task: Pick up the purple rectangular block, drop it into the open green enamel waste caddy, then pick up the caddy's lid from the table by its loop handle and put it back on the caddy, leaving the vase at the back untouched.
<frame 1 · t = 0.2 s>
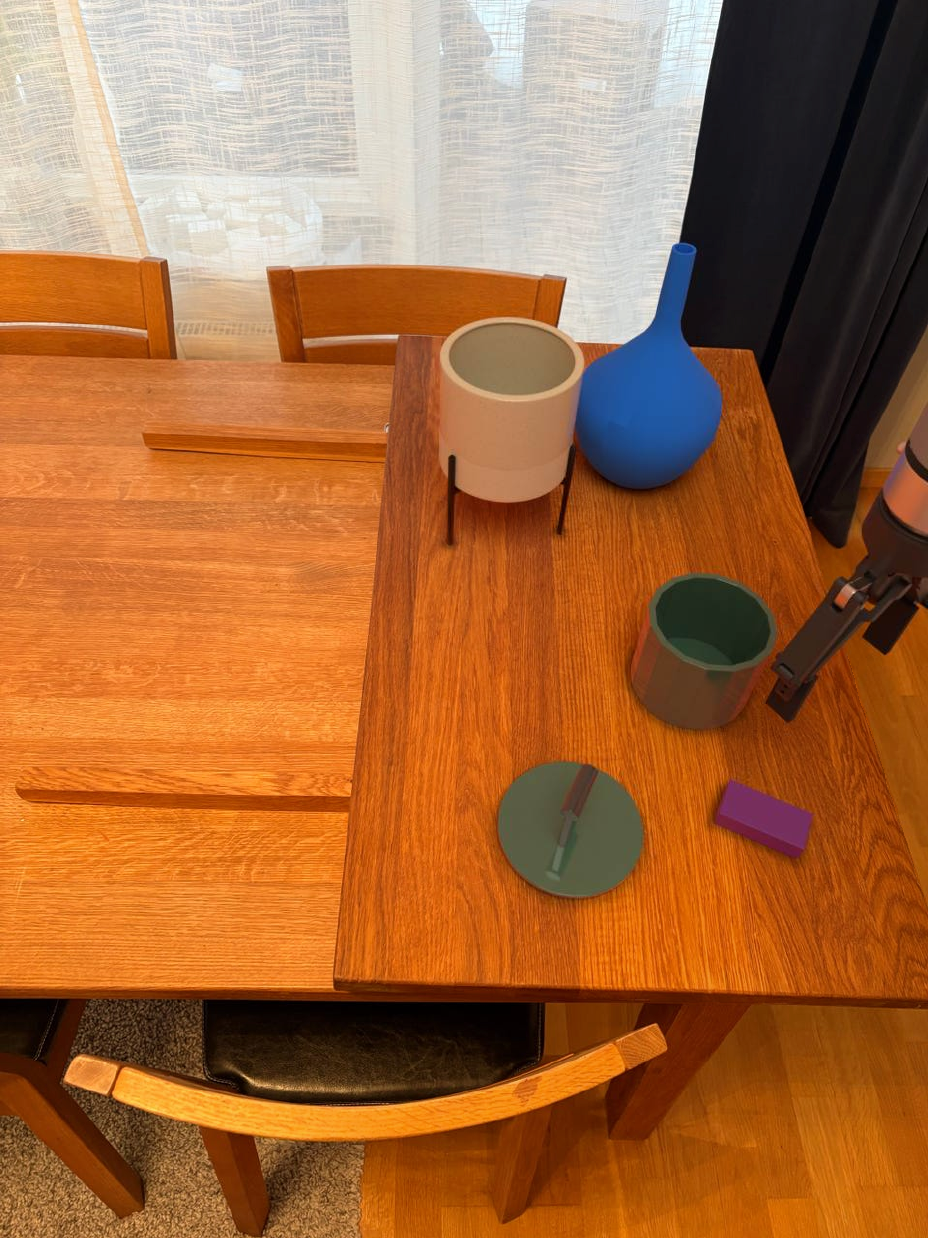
hand: (828, 677, 79), 11 cm above the table, tool pointing down, fingers open, 13 cm apart
purple rectangular block: (759, 823, 82), on the table
planter: (498, 514, 108), on the table
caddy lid: (569, 828, 80), point 1 cm above the table
vase: (633, 465, 115), on the table
caddy: (688, 681, 92), on the table
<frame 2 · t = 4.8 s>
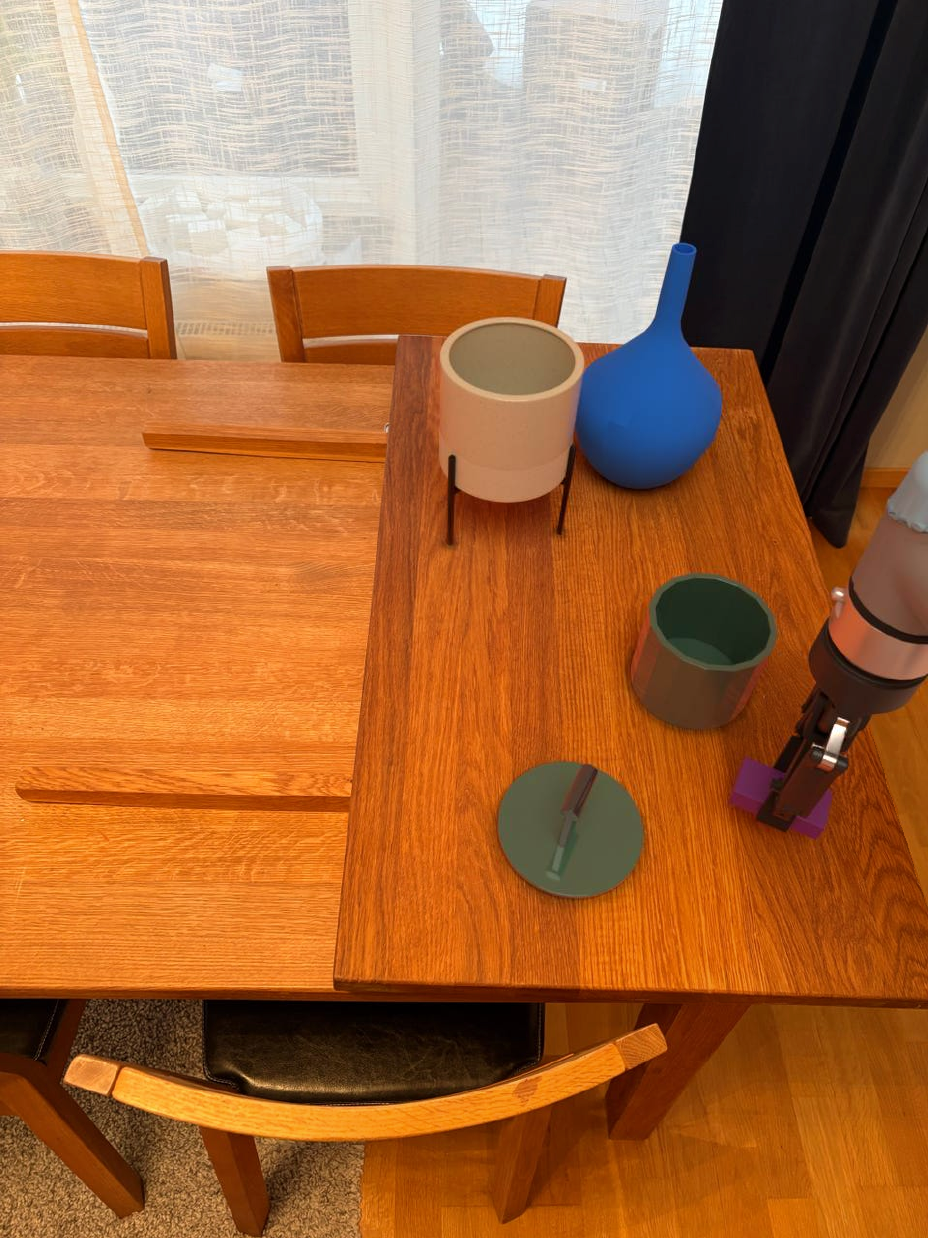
hand: (777, 801, 78), 5 cm above the table, tool pointing down, fingers closed on purple rectangular block, 4 cm apart
purple rectangular block: (776, 803, 78), point 5 cm above the table, touching gripper
everything else where it was.
when the fingers open (15 cm above the table, at t = 9.0 s): purple rectangular block drops 12 cm and tips over, resting on caddy.
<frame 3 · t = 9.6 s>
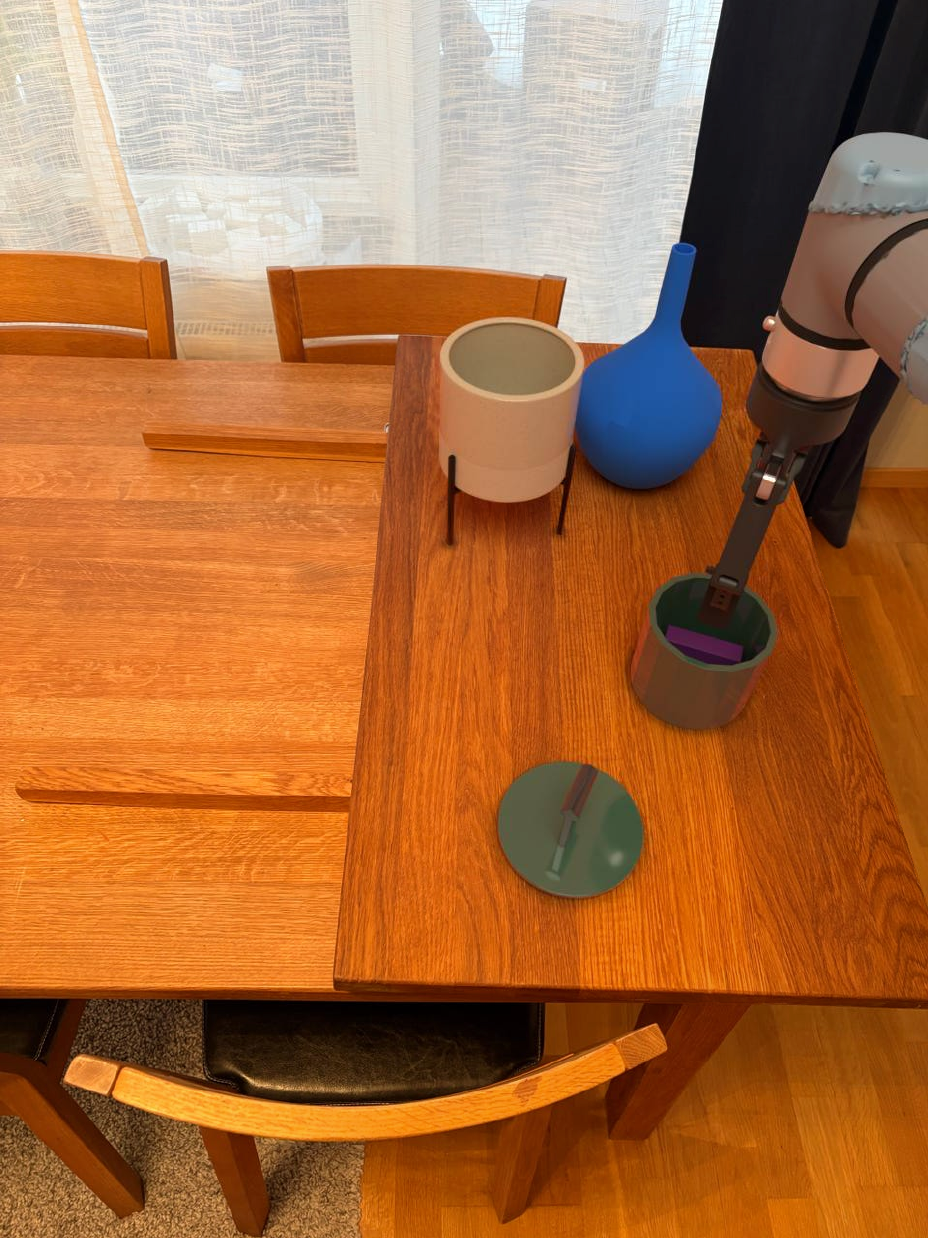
hand: (732, 572, 78), 17 cm above the table, tool pointing down, fingers open, 13 cm apart
purple rectangular block: (697, 661, 91), point 3 cm above the table, tilted 90°, touching caddy
everything else where it was.
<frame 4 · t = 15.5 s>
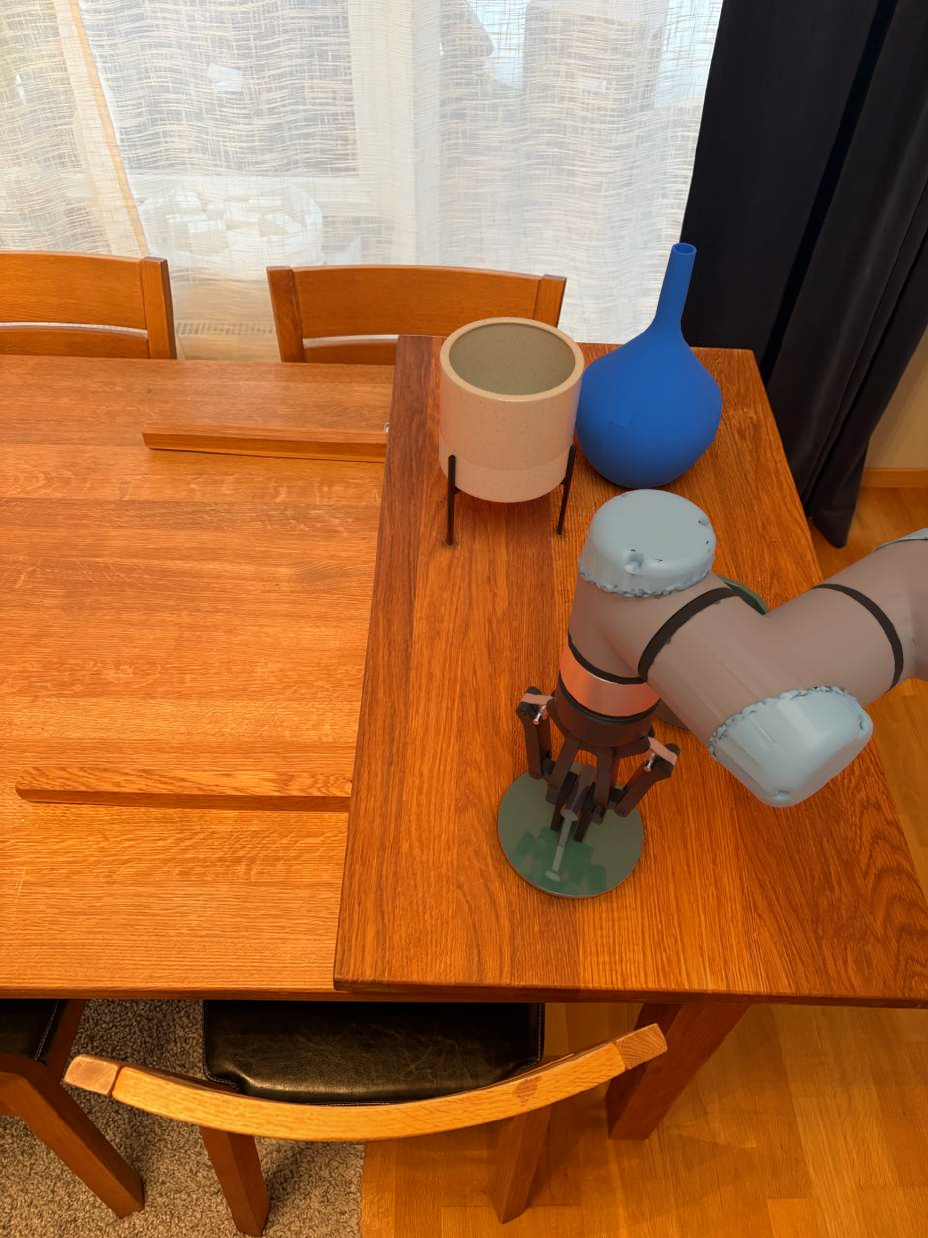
hand: (571, 823, 79), 2 cm above the table, tool pointing down, fingers closed on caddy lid, 2 cm apart
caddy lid: (569, 828, 80), point 1 cm above the table, touching gripper
everything else where it was.
when the fingers open (11 cm above the table, at t = 22.8 s): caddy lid stays where it is, resting on caddy.
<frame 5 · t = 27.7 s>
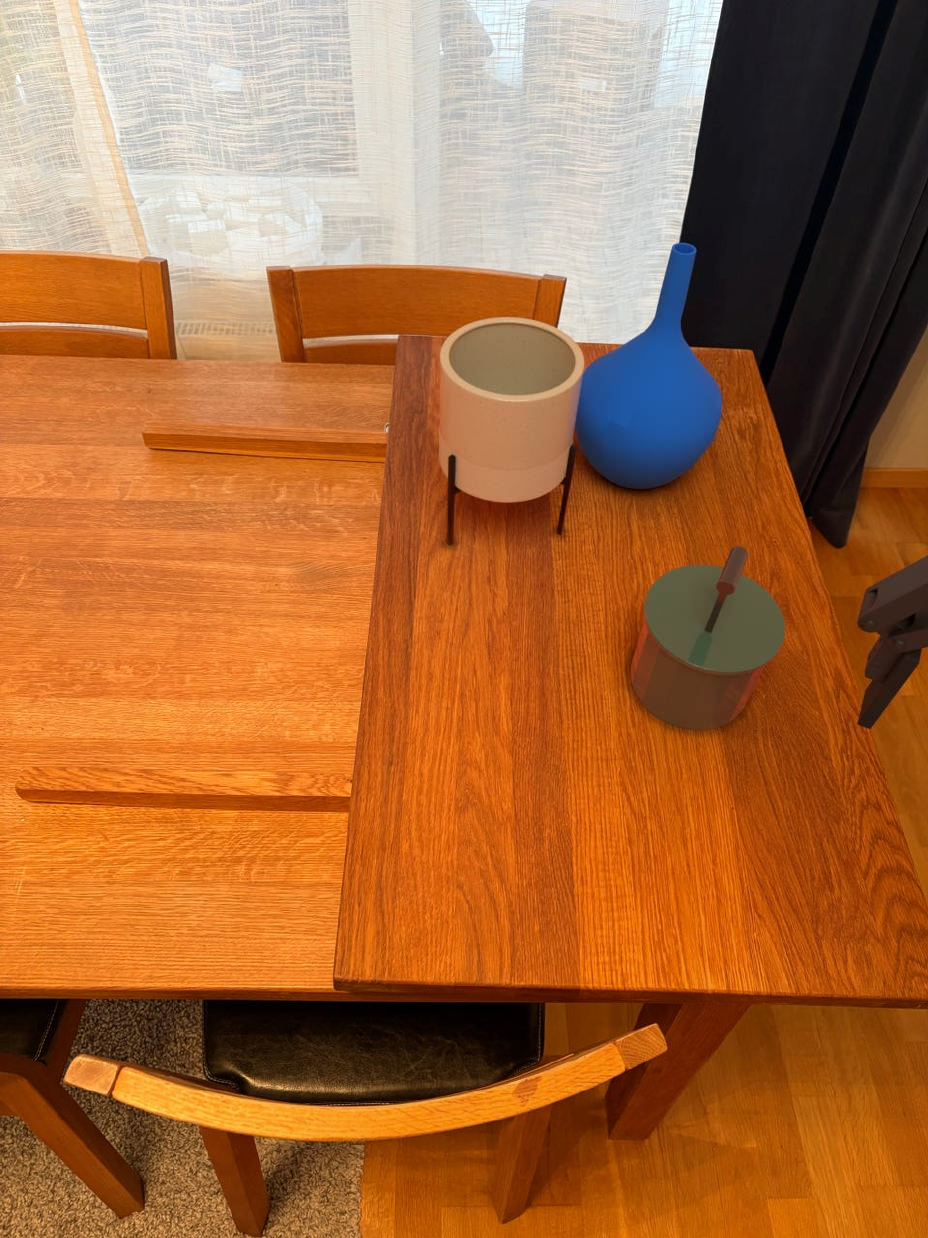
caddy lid: (712, 619, 84), point 10 cm above the table, touching caddy
everything else where it was.
at the end: purple rectangular block inside the target area in the caddy (0.9 cm from its centre), point 2.5 cm above the caddy's base; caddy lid 0.0 cm off-centre on the caddy, point 10.5 cm above the caddy's base; vase moved 0.2 cm from its start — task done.
